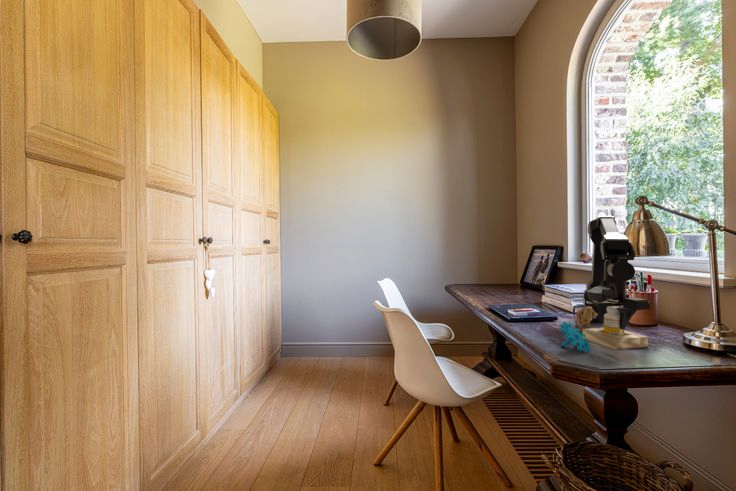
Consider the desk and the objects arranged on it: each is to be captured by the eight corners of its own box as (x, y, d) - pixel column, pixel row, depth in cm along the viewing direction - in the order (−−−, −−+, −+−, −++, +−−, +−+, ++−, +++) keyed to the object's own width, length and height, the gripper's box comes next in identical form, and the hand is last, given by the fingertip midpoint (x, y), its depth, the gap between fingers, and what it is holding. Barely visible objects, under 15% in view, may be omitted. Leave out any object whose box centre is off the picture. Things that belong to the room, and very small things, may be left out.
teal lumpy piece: (580, 350, 100) (557, 319, 106) (563, 361, 103) (542, 331, 110) (599, 349, 106) (577, 320, 112) (583, 359, 109) (562, 331, 115)
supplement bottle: (614, 335, 117) (615, 305, 117) (628, 340, 111) (629, 309, 111) (599, 336, 116) (600, 306, 116) (613, 340, 111) (613, 309, 110)
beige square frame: (612, 336, 121) (612, 327, 121) (647, 346, 109) (647, 336, 109) (582, 338, 118) (582, 329, 118) (614, 349, 106) (615, 339, 106)
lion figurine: (599, 333, 124) (599, 307, 124) (582, 332, 125) (582, 307, 125) (583, 323, 138) (583, 300, 138) (568, 323, 139) (568, 300, 139)
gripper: (570, 275, 121) (569, 321, 121) (620, 282, 102) (619, 336, 103) (598, 274, 123) (597, 319, 123) (652, 281, 105) (650, 334, 105)
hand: (613, 326), depth 114 cm, fingers closed on supplement bottle, 5 cm apart
